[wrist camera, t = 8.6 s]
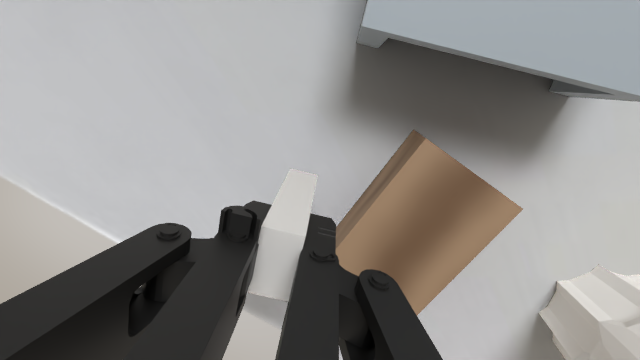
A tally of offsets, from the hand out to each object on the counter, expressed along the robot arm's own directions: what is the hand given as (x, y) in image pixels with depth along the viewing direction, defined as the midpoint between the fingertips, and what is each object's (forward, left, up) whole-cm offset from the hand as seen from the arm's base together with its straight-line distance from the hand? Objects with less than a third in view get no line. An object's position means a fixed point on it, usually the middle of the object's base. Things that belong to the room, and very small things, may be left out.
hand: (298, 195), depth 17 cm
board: (+8, -4, -8) cm, 12 cm away
